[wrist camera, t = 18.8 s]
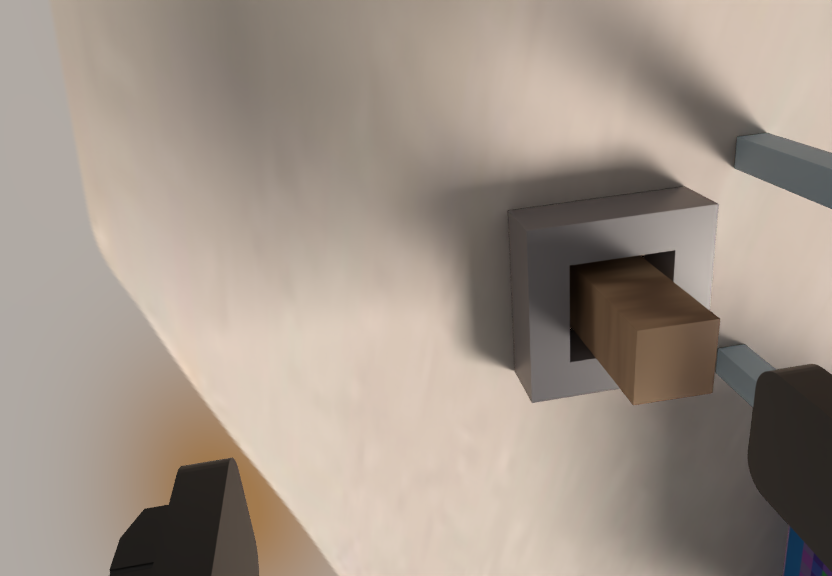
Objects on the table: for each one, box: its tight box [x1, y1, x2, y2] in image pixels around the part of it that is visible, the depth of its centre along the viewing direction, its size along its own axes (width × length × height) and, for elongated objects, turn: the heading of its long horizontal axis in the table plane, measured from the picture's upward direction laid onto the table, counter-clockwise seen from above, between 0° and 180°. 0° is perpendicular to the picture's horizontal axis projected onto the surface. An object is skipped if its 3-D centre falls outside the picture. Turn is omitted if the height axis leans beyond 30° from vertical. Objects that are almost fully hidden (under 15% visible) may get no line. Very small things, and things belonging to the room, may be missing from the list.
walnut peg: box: [570, 255, 720, 405], centre depth 41 cm, size 4×4×11 cm
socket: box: [508, 186, 719, 403], centre depth 45 cm, size 12×12×4 cm
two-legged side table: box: [716, 133, 832, 407], centre depth 34 cm, size 13×19×27 cm
